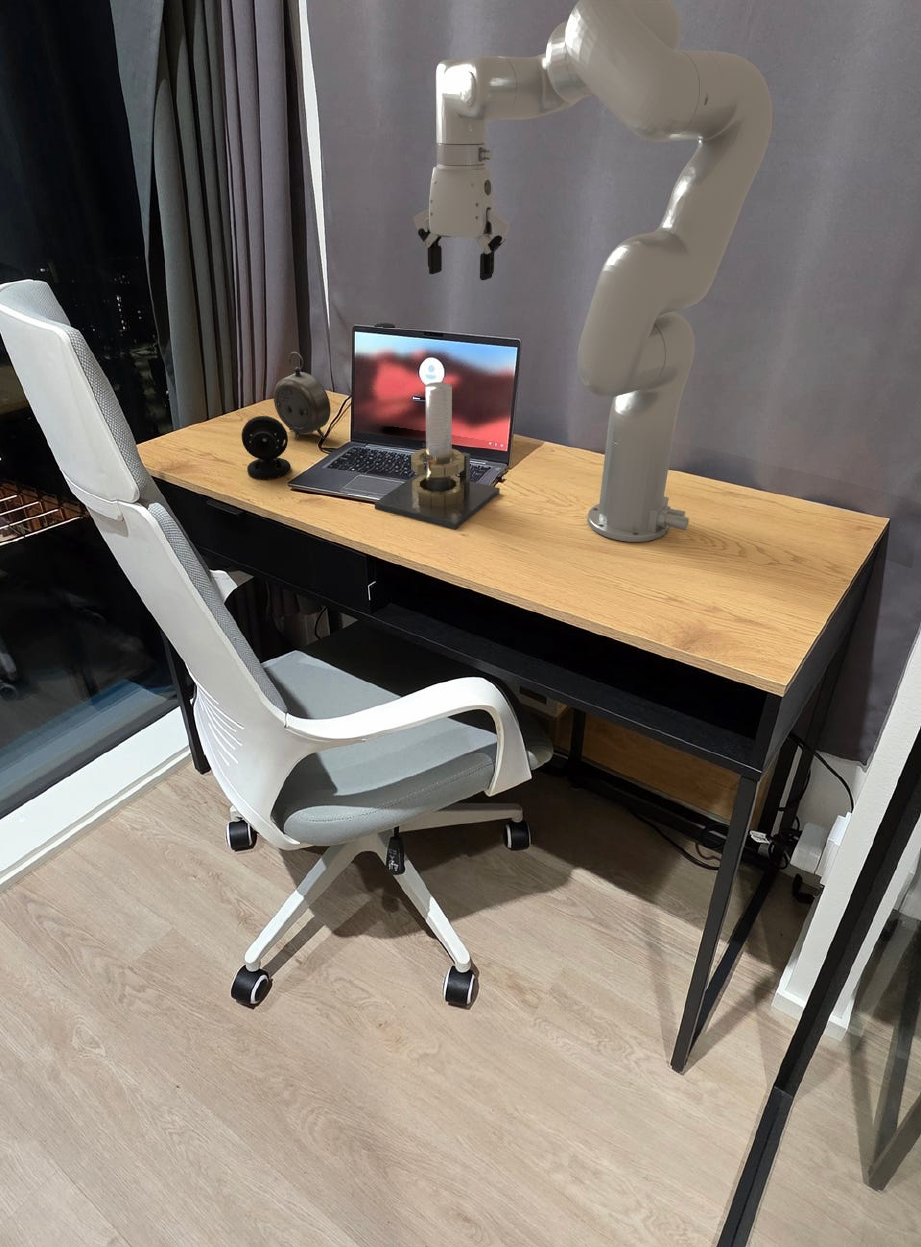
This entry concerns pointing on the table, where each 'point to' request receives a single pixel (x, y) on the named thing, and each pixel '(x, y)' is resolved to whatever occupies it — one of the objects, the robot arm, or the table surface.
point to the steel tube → (438, 432)
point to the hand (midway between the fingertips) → (460, 275)
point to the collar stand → (439, 493)
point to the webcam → (266, 447)
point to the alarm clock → (302, 402)
